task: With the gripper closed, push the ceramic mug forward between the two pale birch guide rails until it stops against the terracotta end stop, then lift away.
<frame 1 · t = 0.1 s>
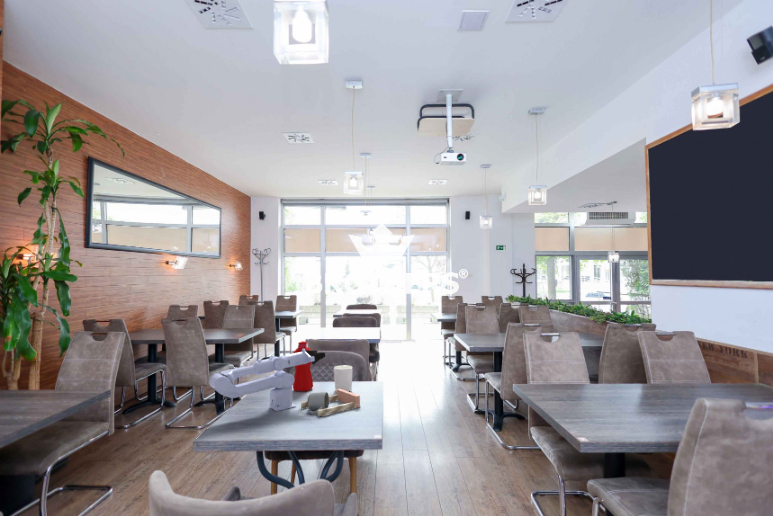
hand: (320, 353, 205), 22 cm above the table, tool horizontal, fingers open, 7 cm apart
candle holder: (343, 391, 218), on the table
end stop: (348, 403, 196), on the table
ceramic mug: (317, 411, 186), on the table
water bottle: (301, 390, 222), on the table
guide rails: (328, 407, 190), on the table
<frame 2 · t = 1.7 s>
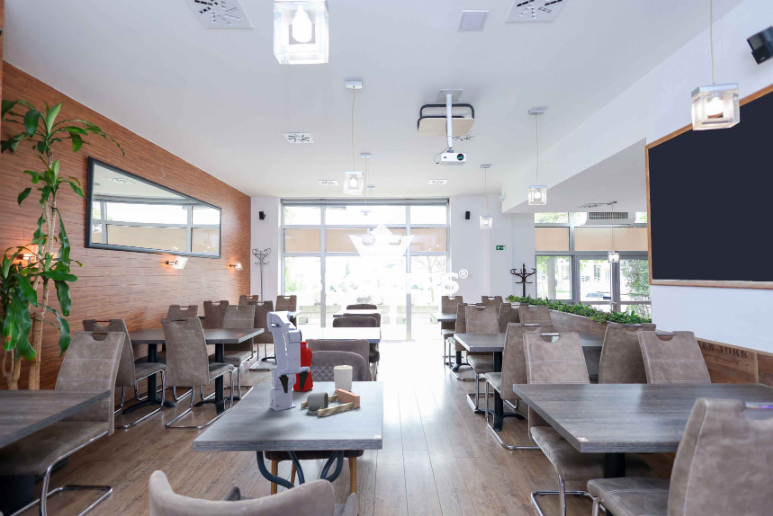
hand: (293, 391, 179), 10 cm above the table, tool pointing down, fingers open, 7 cm apart
nothing on the table moved.
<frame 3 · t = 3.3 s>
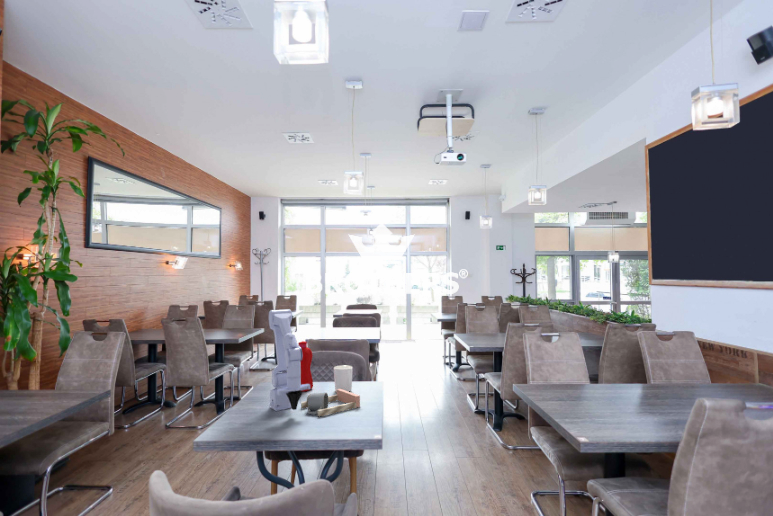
hand: (294, 409, 179), 3 cm above the table, tool pointing down, fingers closed
nothing on the table moved.
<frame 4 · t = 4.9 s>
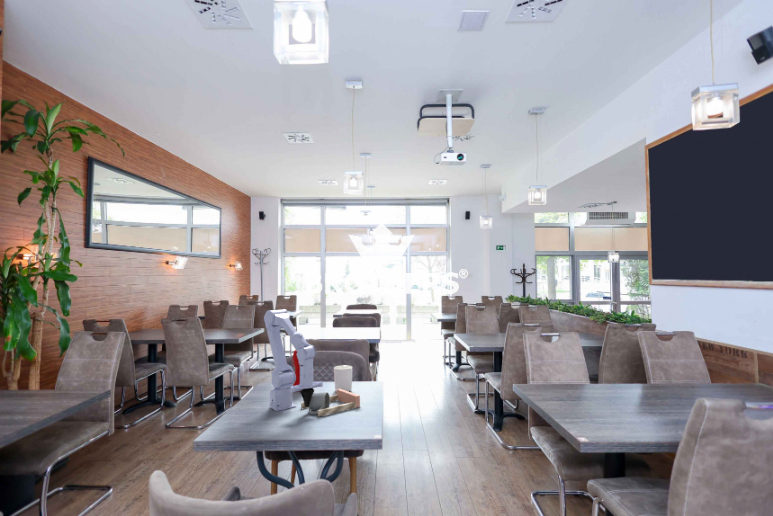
hand: (306, 406, 183), 3 cm above the table, tool pointing down, fingers closed
ceramic mug: (318, 411, 185), on the table, touching gripper
everything else where it was.
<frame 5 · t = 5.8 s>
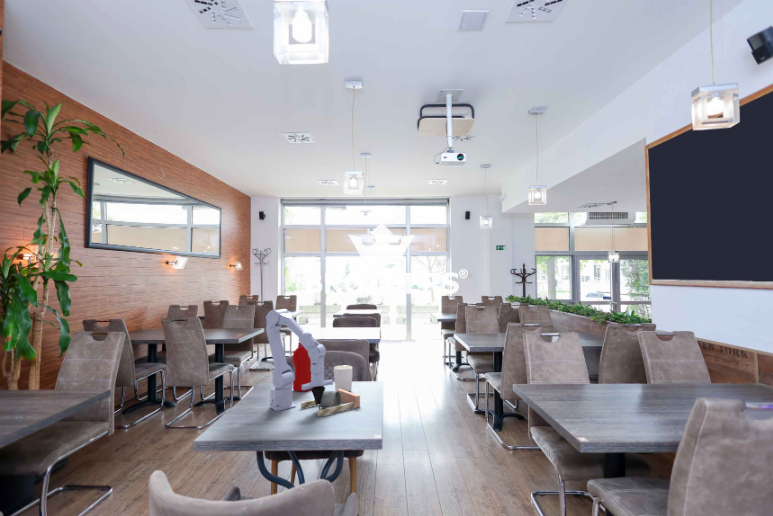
hand: (317, 403, 186), 3 cm above the table, tool pointing down, fingers closed
ceramic mug: (329, 409, 188), on the table, touching gripper
everything else where it was.
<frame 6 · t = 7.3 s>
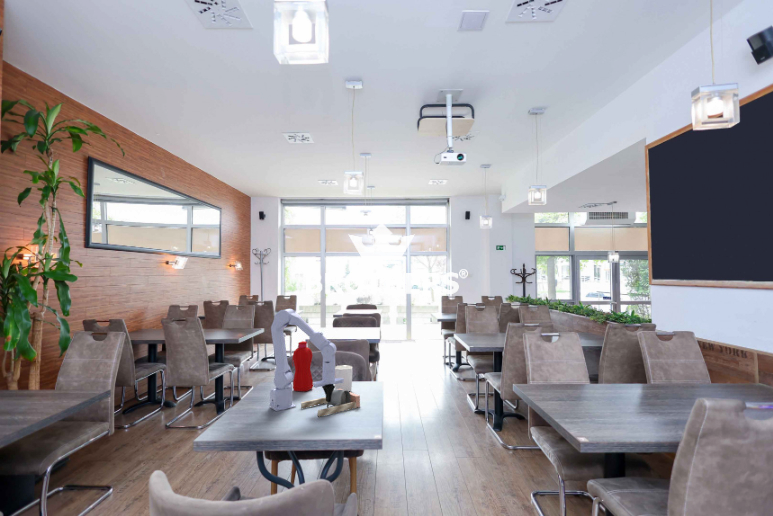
hand: (328, 401, 190), 3 cm above the table, tool pointing down, fingers closed, pressing on ceramic mug
ceramic mug: (337, 407, 190), on the table, touching end stop, gripper
everything else where it was.
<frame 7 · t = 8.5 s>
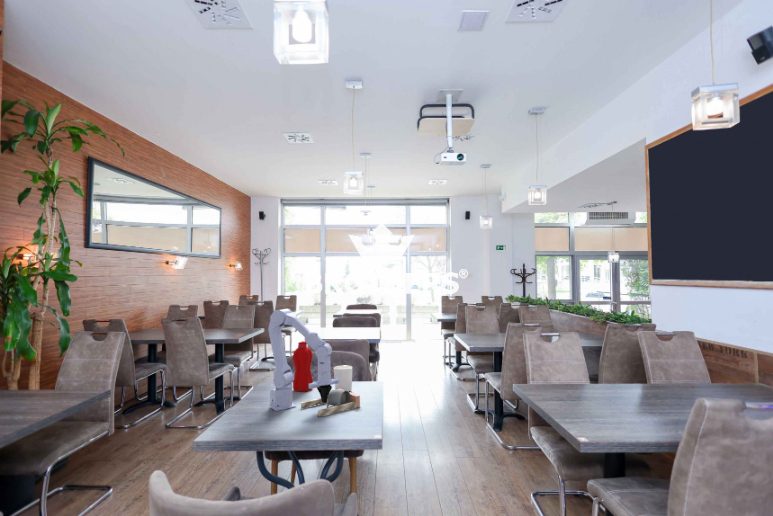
hand: (324, 402, 188), 3 cm above the table, tool pointing down, fingers closed
ceramic mug: (337, 408, 190), on the table
everything else where it was.
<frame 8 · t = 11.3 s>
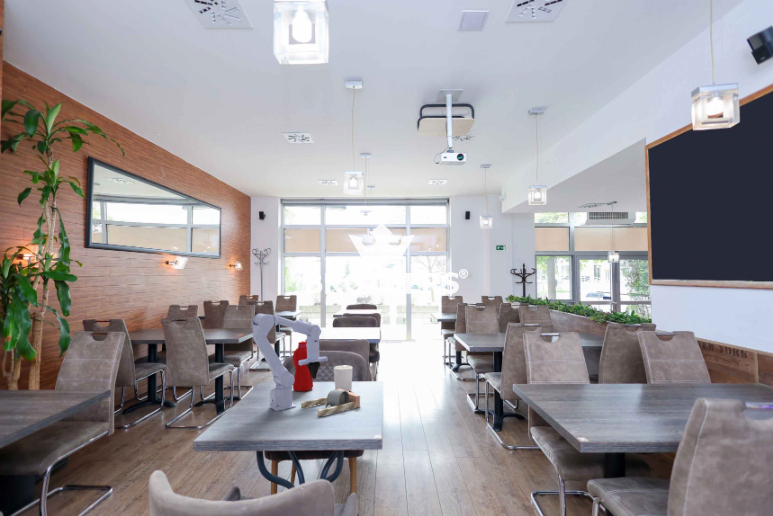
hand: (313, 378, 202), 10 cm above the table, tool pointing down, fingers closed
nothing on the table moved.
at the end: ceramic mug inside the target area (2.9 cm from its centre), on the table; ceramic mug tilted 0°; ceramic mug moved 8.4 cm from its start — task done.
